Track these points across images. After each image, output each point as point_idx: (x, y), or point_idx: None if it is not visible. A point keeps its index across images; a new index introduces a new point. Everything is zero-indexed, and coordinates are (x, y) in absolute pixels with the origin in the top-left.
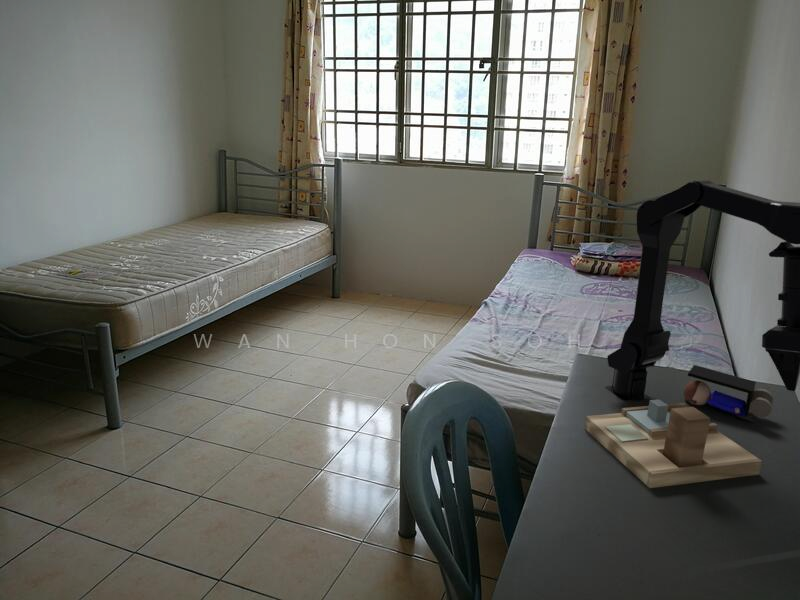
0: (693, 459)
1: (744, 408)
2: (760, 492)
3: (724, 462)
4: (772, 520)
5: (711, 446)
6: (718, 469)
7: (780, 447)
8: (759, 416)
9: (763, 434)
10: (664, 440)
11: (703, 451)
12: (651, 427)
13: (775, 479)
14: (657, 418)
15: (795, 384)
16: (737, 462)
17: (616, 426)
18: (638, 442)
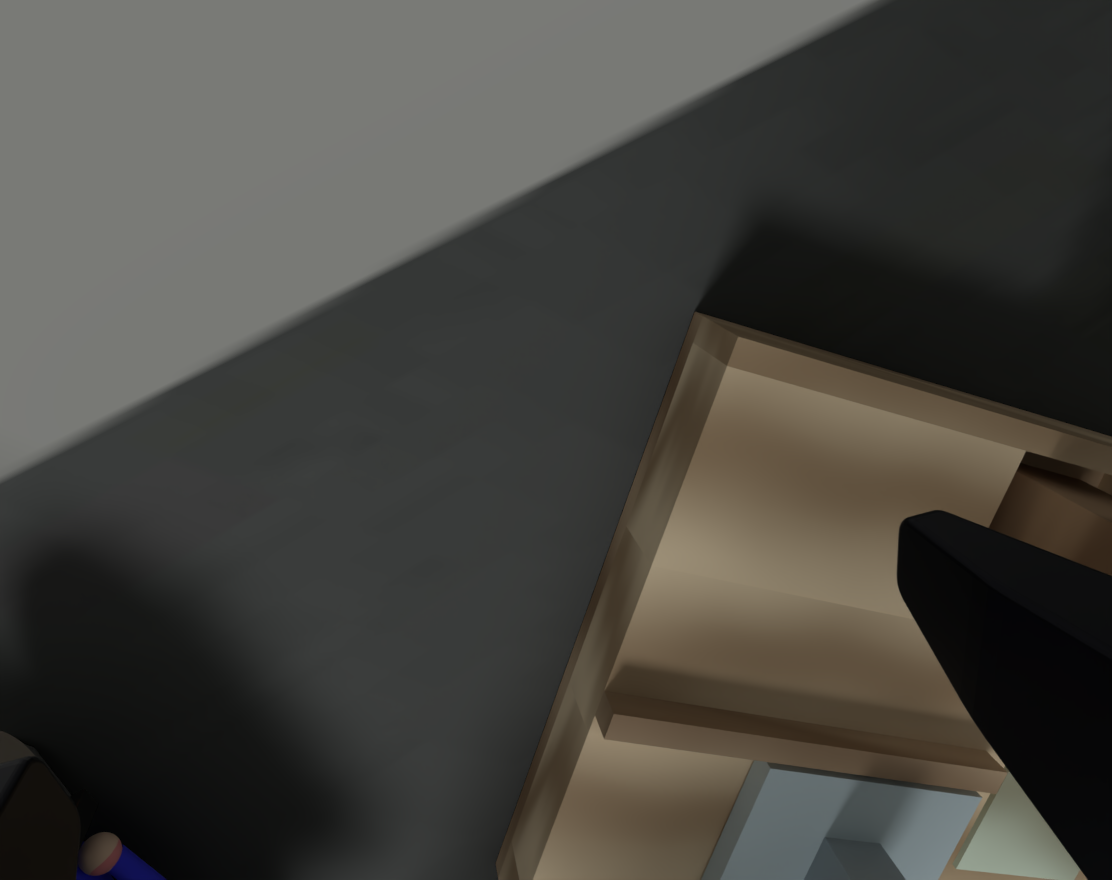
0: (1097, 503)
1: None
2: (834, 213)
3: (941, 426)
4: (1049, 21)
5: (824, 573)
6: (986, 408)
7: (187, 466)
8: (26, 749)
9: (127, 616)
10: None
11: (1090, 509)
12: (956, 807)
13: (622, 250)
14: (885, 859)
15: (1045, 552)
16: (884, 392)
17: (1030, 869)
18: None
